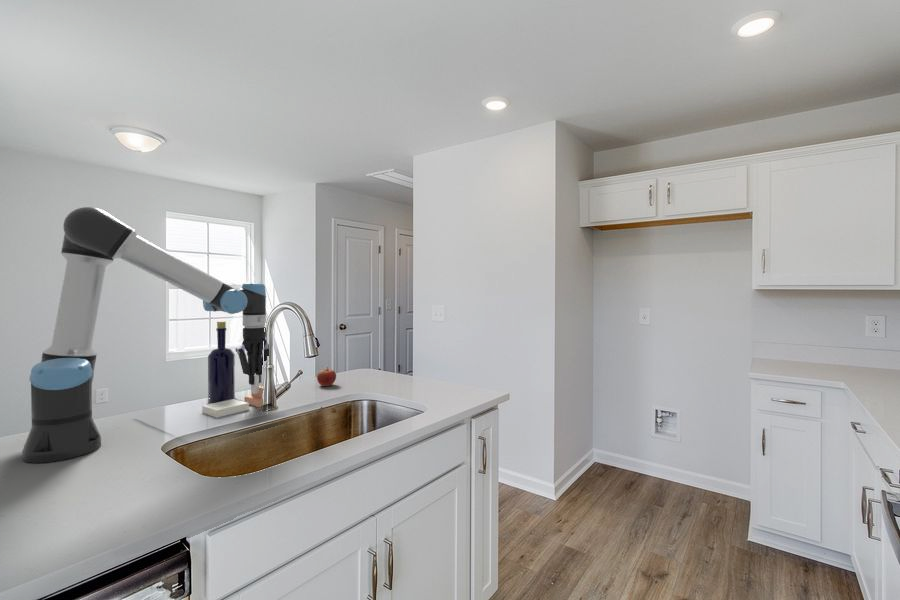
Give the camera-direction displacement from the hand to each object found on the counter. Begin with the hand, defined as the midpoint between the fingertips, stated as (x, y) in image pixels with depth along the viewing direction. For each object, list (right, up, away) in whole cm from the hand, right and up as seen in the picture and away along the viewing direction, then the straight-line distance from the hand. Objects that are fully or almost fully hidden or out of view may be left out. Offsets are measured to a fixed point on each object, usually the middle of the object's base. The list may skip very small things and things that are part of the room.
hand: (255, 392), depth 153 cm
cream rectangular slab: (-6, -4, -8) cm, 11 cm away
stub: (+1, -4, +1) cm, 4 cm away
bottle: (-15, -5, +5) cm, 16 cm away
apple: (+16, -4, +35) cm, 38 cm away
